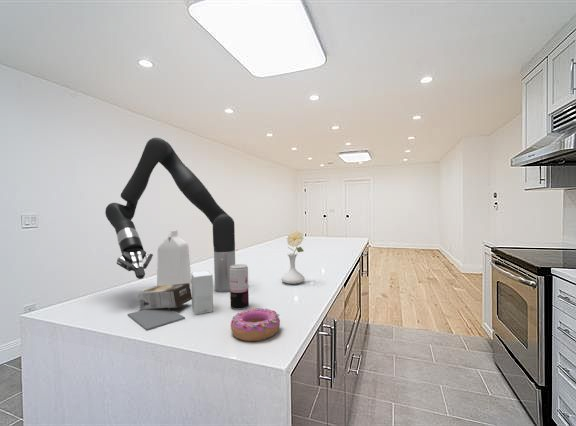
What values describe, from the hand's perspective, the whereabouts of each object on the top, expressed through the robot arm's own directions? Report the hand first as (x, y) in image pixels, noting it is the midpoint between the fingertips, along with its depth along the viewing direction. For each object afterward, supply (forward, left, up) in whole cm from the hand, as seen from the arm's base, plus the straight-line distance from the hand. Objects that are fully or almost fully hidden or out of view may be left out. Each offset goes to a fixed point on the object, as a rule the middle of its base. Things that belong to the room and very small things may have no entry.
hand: (141, 277), depth 104 cm
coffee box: (0, -2, -8) cm, 9 cm away
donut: (-44, +22, -12) cm, 50 cm away
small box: (-23, +3, -12) cm, 26 cm away
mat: (-9, +9, -11) cm, 17 cm away
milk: (0, -31, -12) cm, 33 cm away
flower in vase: (-57, -30, -12) cm, 65 cm away
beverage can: (-36, +1, -12) cm, 38 cm away
